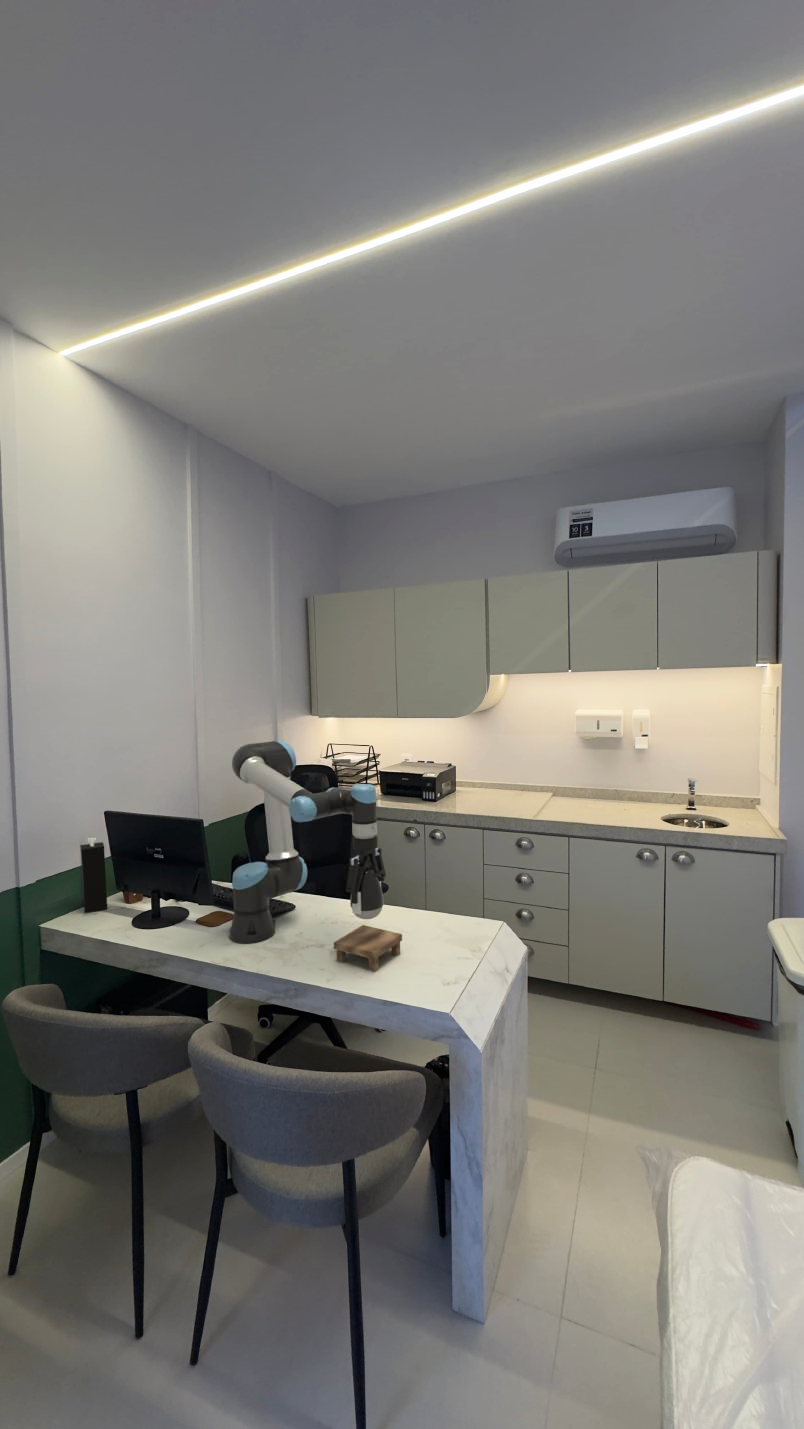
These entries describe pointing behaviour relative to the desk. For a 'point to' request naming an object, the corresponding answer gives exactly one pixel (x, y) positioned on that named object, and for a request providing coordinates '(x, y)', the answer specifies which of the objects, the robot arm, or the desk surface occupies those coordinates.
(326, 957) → the desk surface
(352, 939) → the walnut footstool
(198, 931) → the desk surface
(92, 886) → the tissue box
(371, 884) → the pump dispenser
